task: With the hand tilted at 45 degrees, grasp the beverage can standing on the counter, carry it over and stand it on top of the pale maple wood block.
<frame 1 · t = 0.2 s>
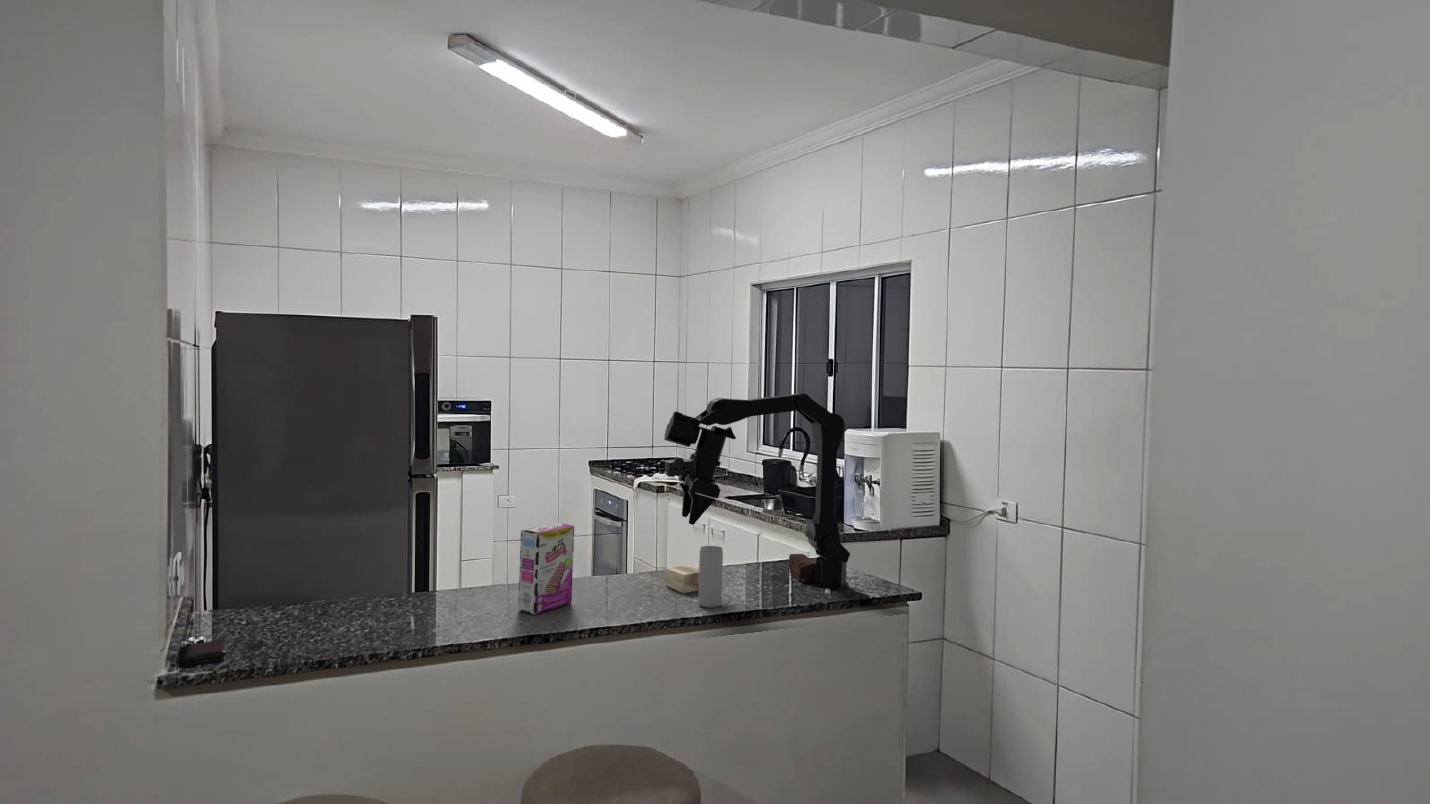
hand: (687, 520, 196), 15 cm above the counter, tool tilted 15°, fingers open, 9 cm apart
brick: (801, 578, 210), on the counter
candy bar box: (546, 608, 178), on the counter
maple block: (687, 587, 197), on the counter
beverage can: (709, 606, 183), on the counter
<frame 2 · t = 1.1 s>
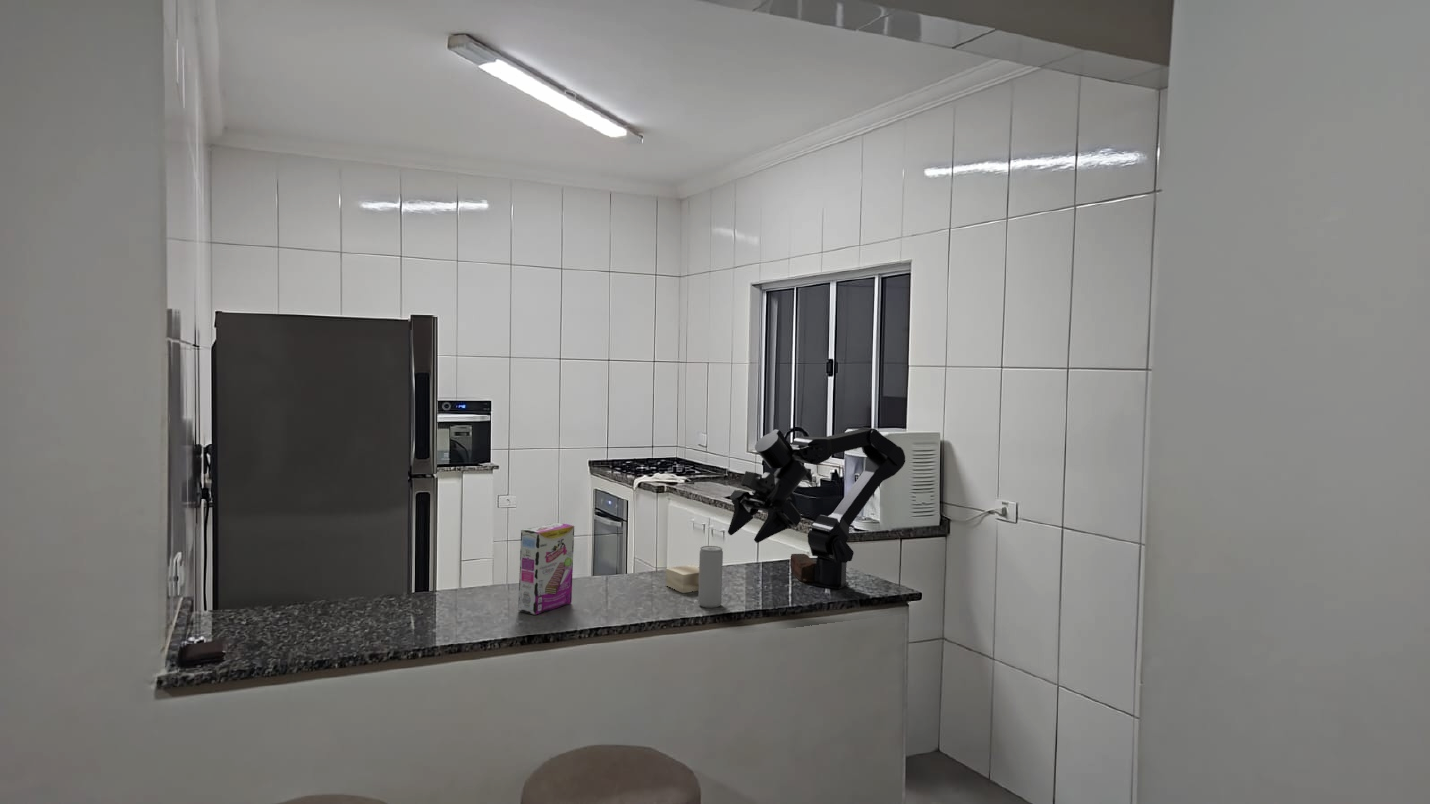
hand: (742, 537, 188), 13 cm above the counter, tool tilted 45°, fingers open, 9 cm apart
nothing on the counter moved.
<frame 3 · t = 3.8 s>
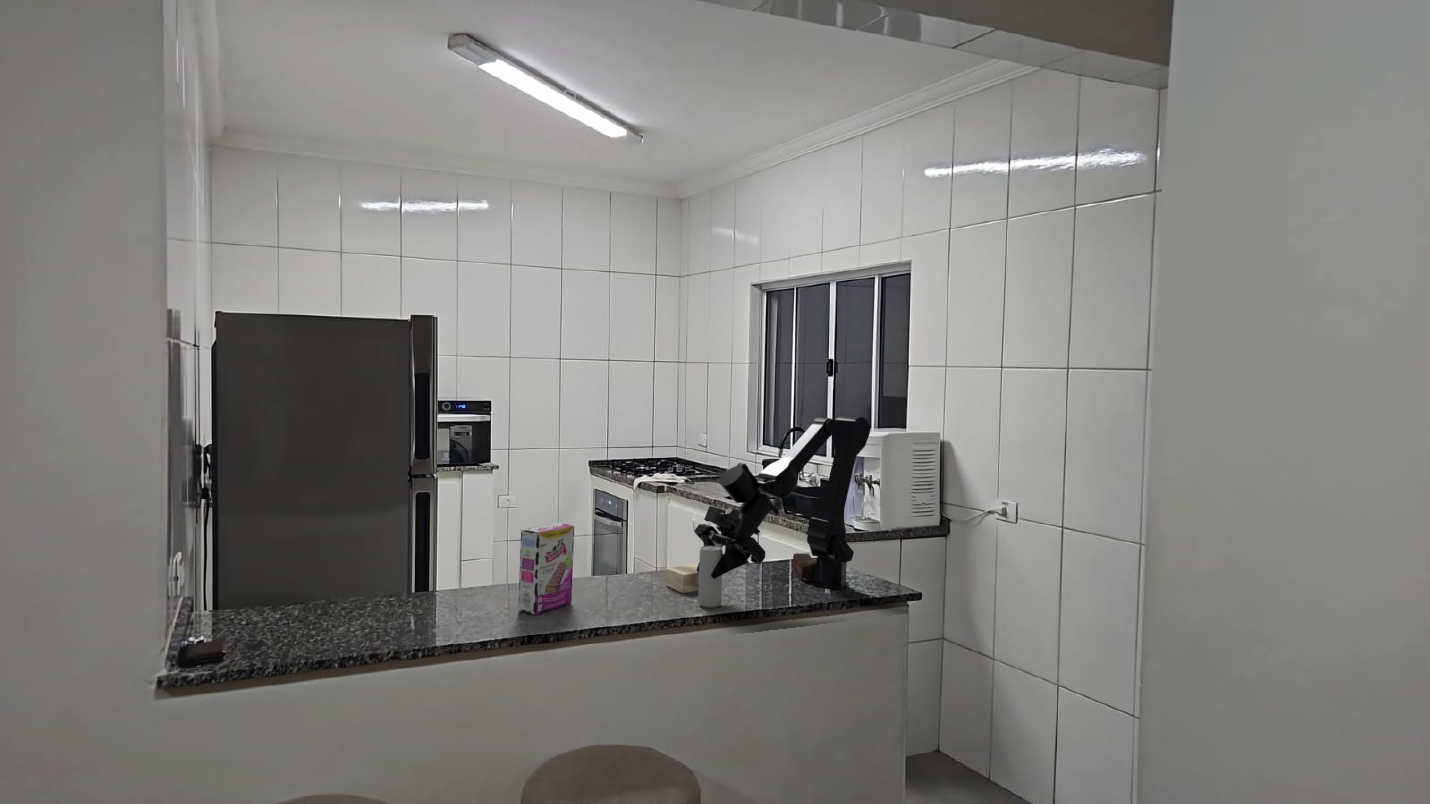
hand: (705, 574, 182), 7 cm above the counter, tool tilted 45°, fingers closed on beverage can, 5 cm apart
beverage can: (709, 606, 183), on the counter, touching gripper
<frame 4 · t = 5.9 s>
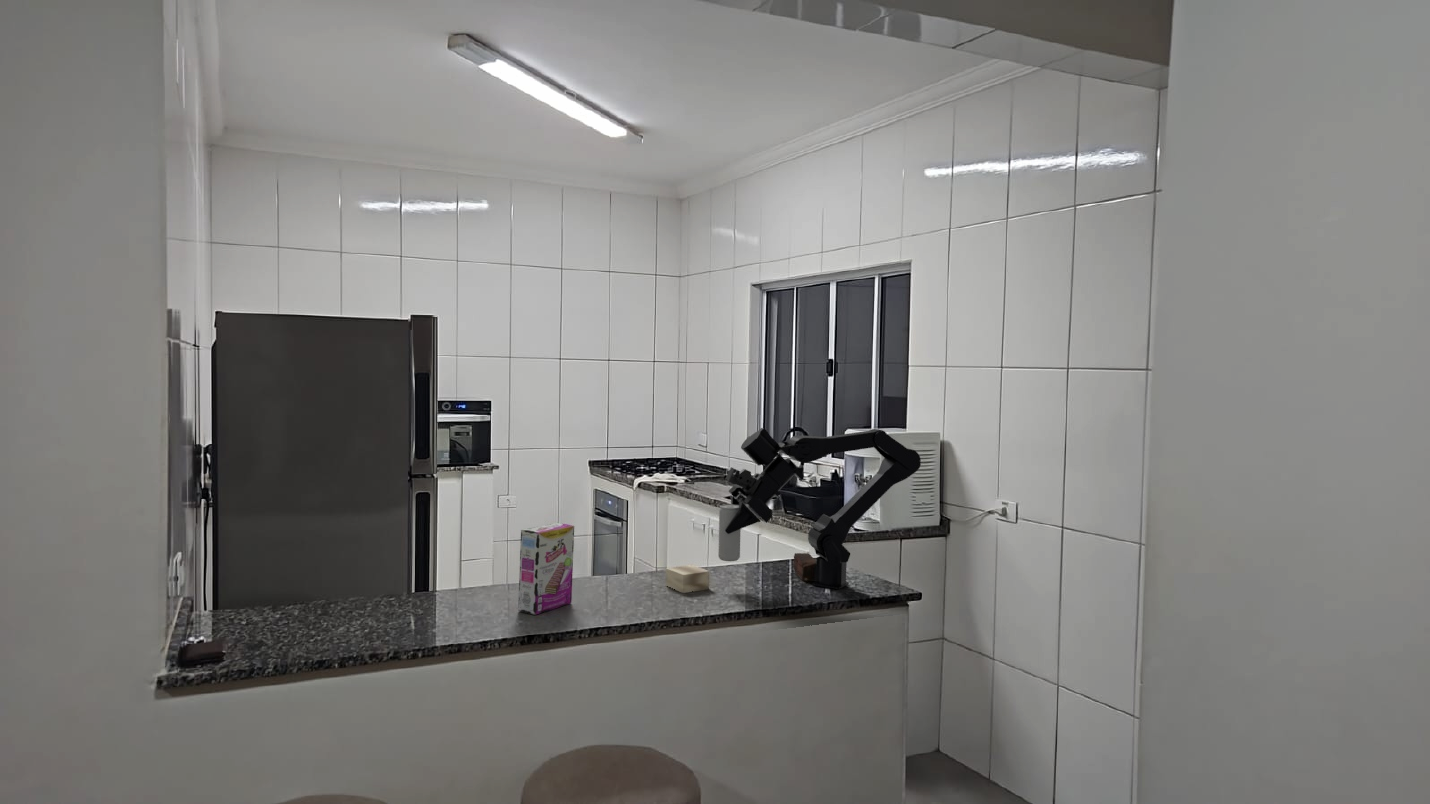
hand: (723, 530, 197), 13 cm above the counter, tool tilted 45°, fingers closed on beverage can, 5 cm apart
beverage can: (729, 560, 198), point 6 cm above the counter, touching gripper
when the fingers open (12 cm above the counter, at t = 8.2 s): beverage can drops 1 cm, resting on maple block.
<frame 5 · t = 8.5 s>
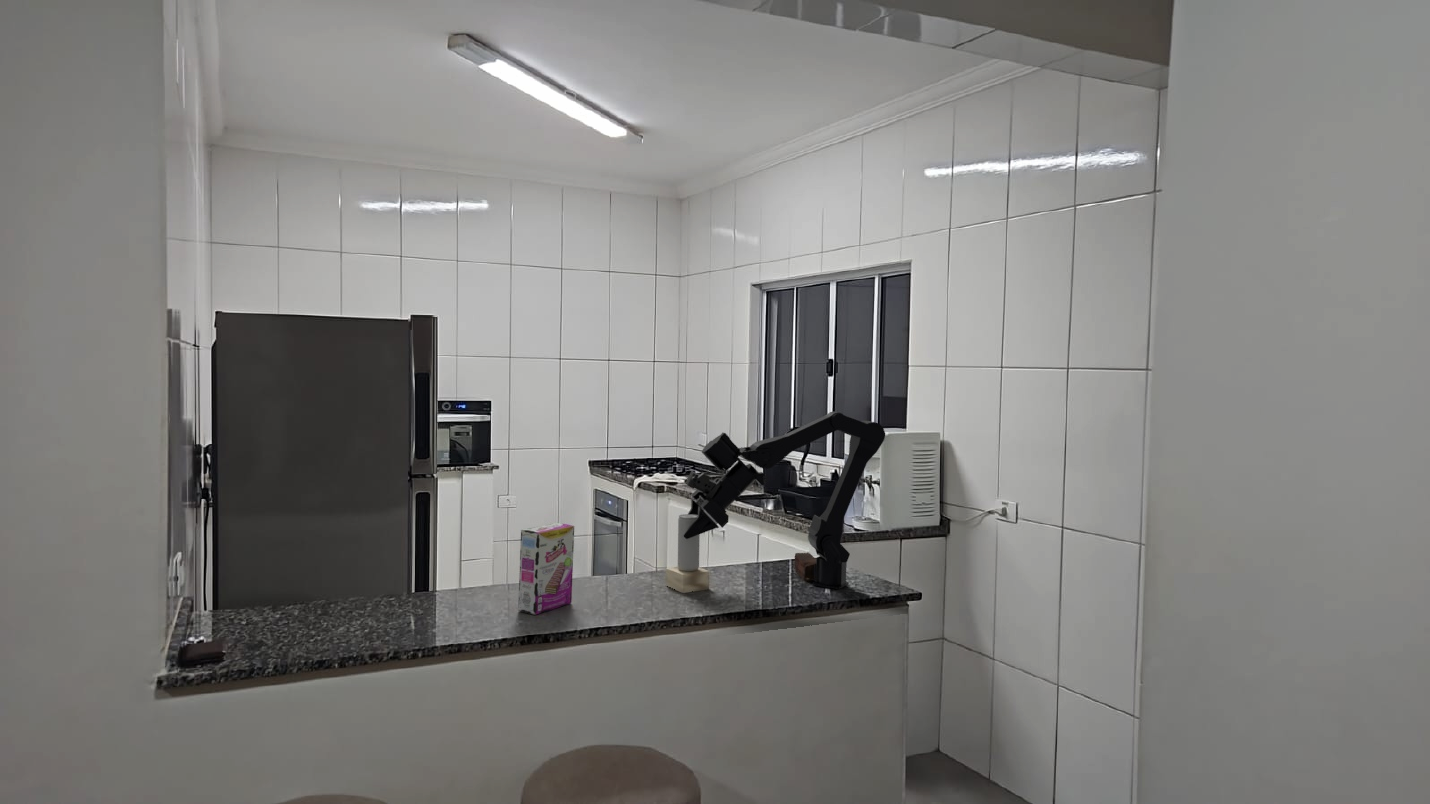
hand: (682, 534, 197), 12 cm above the counter, tool tilted 45°, fingers open, 8 cm apart
beverage can: (688, 570, 197), point 4 cm above the counter, touching maple block
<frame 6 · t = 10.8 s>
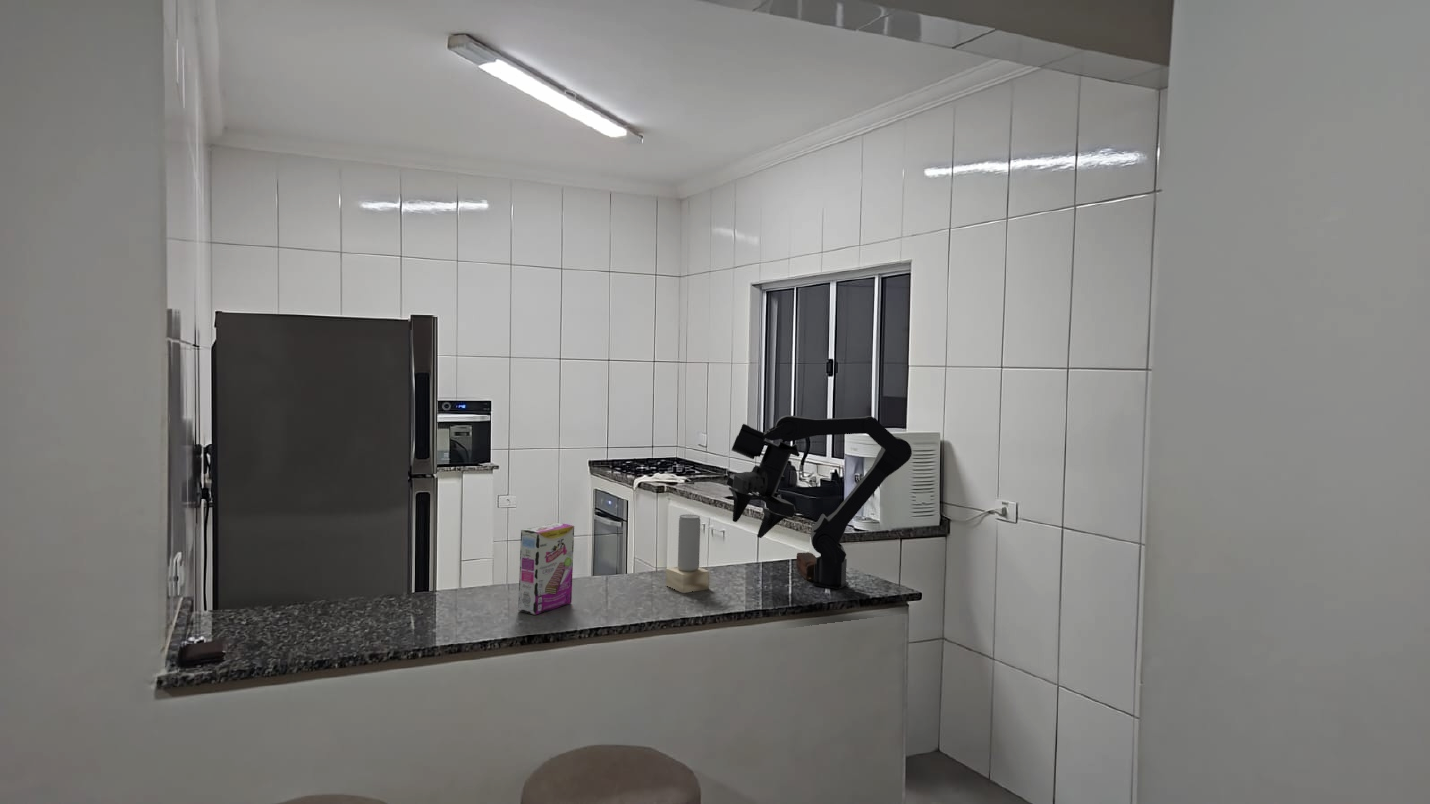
hand: (746, 529, 204), 12 cm above the counter, tool tilted 20°, fingers open, 9 cm apart
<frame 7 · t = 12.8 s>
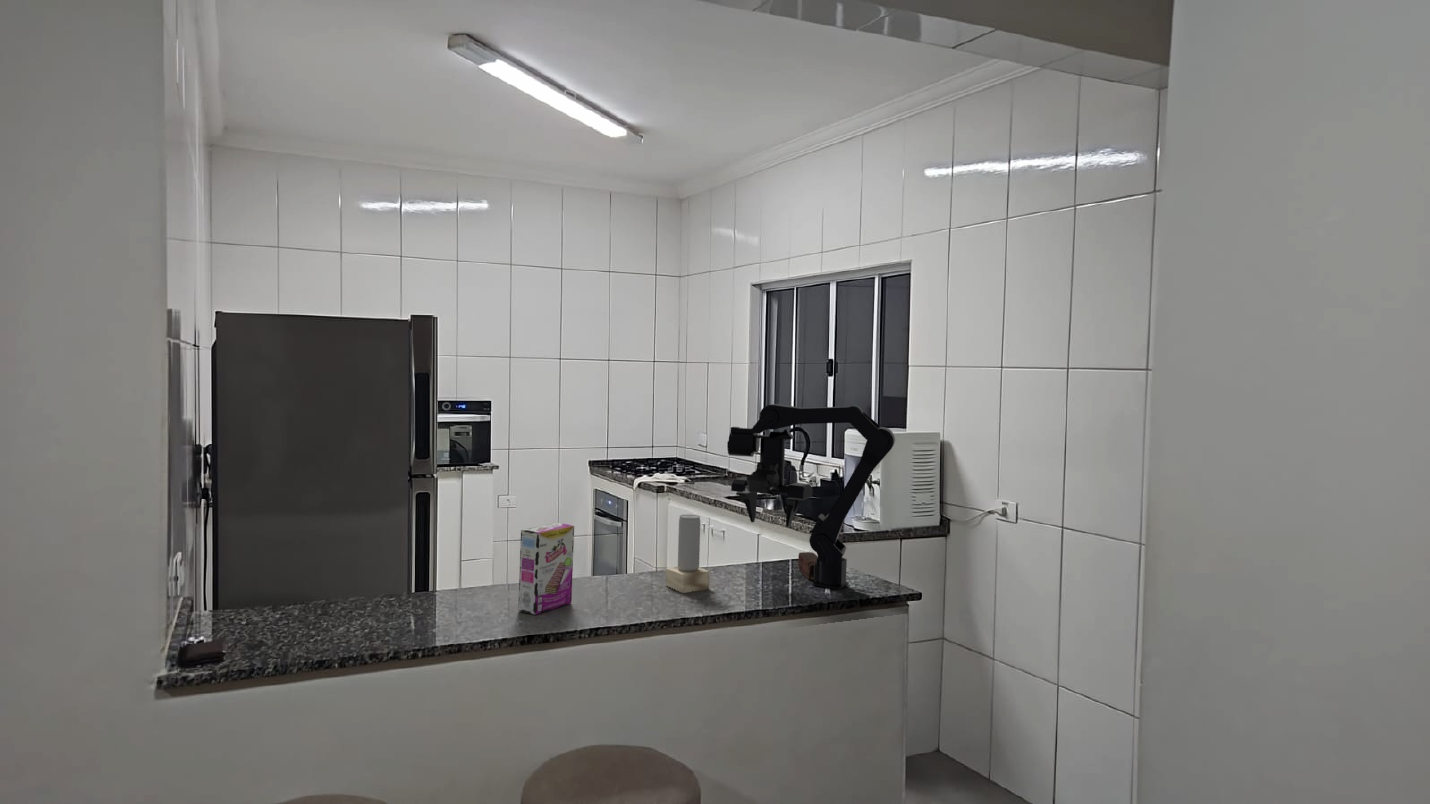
hand: (770, 524, 206), 13 cm above the counter, tool pointing down, fingers open, 9 cm apart
at the end: beverage can inside the target area on the maple block (0.3 cm from its centre), point 3.8 cm above the maple block's base; beverage can tilted 0°; the gripper is holding nothing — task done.
